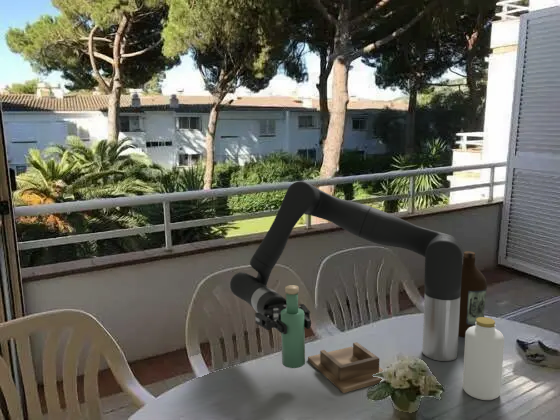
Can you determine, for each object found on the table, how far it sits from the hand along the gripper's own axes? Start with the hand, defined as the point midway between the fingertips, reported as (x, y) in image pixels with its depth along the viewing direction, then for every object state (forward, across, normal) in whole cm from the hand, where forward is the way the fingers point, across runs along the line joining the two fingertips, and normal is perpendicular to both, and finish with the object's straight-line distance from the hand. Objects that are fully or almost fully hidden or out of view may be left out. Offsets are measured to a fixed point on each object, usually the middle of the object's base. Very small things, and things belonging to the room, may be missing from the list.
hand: (297, 327), depth 111 cm
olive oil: (-7, +61, +17) cm, 63 cm away
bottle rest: (-3, +16, +16) cm, 23 cm away
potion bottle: (+20, +38, +17) cm, 46 cm away
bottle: (-3, 0, +10) cm, 10 cm away
